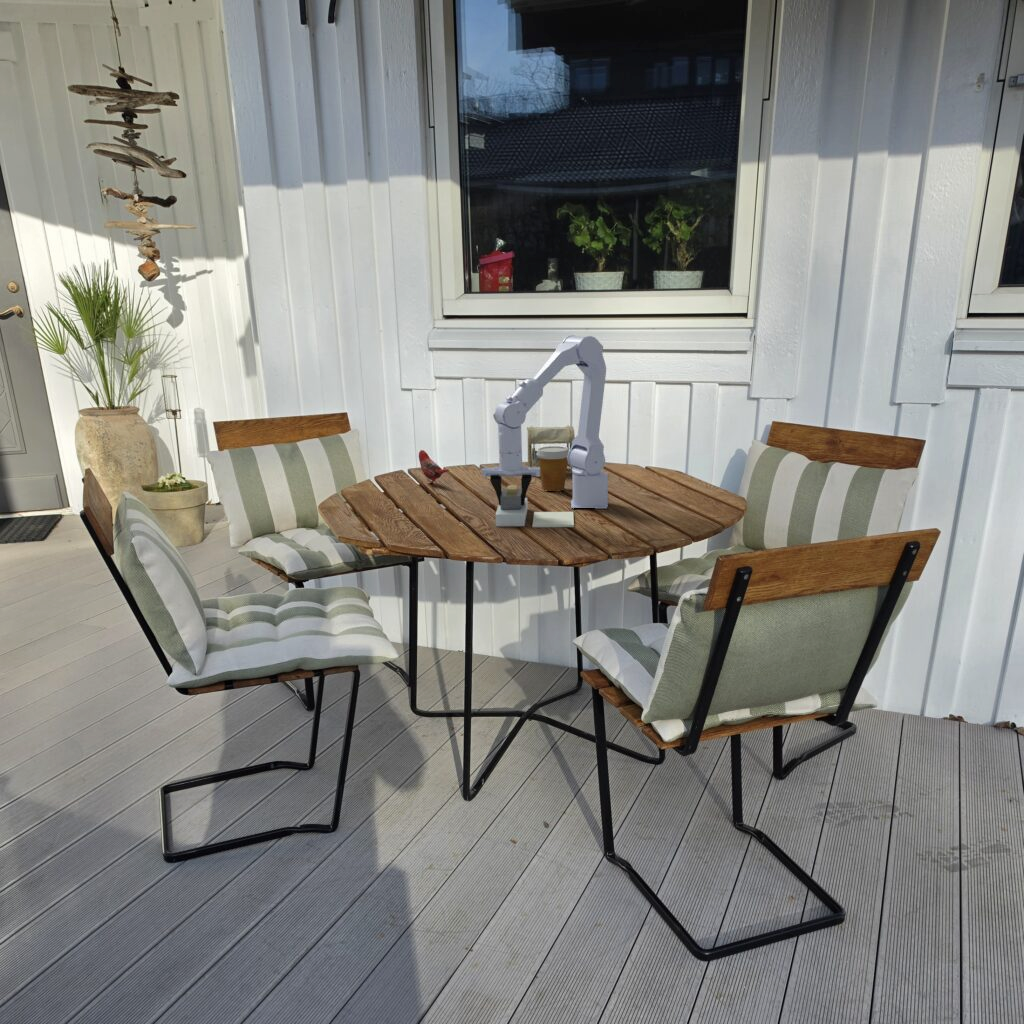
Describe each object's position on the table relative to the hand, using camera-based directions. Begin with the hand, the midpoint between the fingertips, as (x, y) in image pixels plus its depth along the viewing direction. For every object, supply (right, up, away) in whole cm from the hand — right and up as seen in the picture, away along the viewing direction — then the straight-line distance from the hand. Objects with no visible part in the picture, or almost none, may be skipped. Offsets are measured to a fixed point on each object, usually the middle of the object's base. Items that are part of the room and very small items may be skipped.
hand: (511, 504), depth 189 cm
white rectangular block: (0, -3, +1) cm, 3 cm away
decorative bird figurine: (-23, +6, +37) cm, 45 cm away
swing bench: (+13, +10, +50) cm, 53 cm away
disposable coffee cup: (+12, +4, +28) cm, 31 cm away
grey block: (0, 0, 0) cm, 0 cm away
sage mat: (+10, -4, -3) cm, 11 cm away
